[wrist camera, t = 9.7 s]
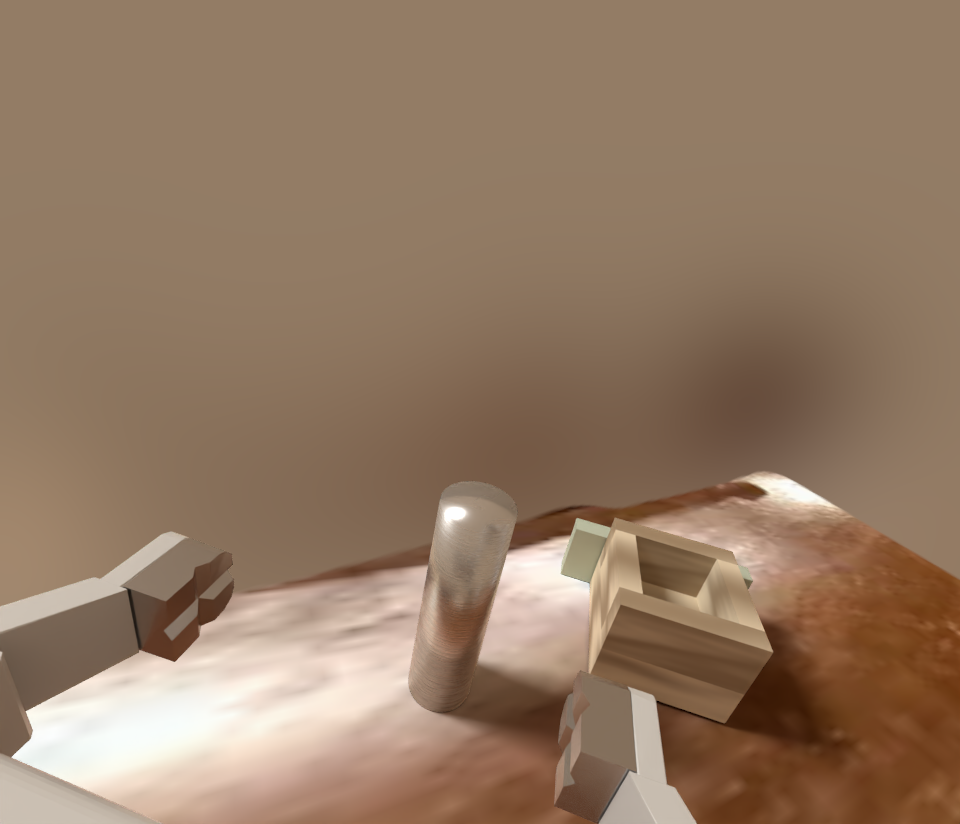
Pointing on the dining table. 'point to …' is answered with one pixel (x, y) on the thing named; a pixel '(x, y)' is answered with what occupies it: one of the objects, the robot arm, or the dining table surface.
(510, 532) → the dowel
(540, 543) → the dining table surface
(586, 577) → the wall
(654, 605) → the socket block
